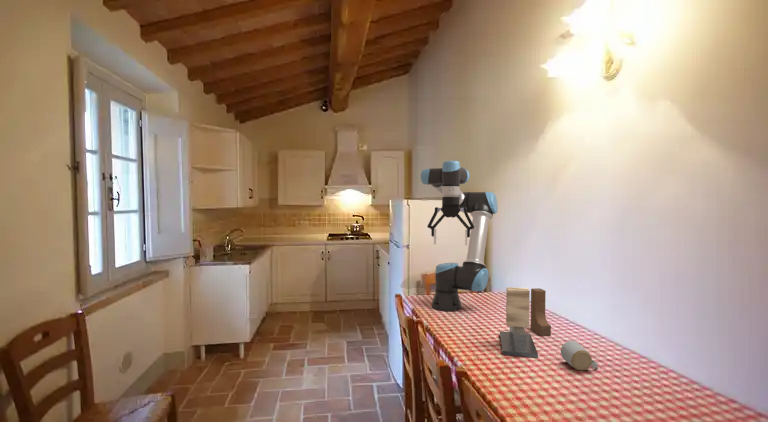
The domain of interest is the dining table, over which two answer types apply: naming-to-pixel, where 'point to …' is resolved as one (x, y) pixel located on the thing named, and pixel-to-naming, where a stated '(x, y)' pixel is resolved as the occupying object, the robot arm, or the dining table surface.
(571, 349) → the ceramic mug
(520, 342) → the gray t-shaped block
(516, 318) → the birch post
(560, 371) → the dining table surface
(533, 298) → the wooden block
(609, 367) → the dining table surface
